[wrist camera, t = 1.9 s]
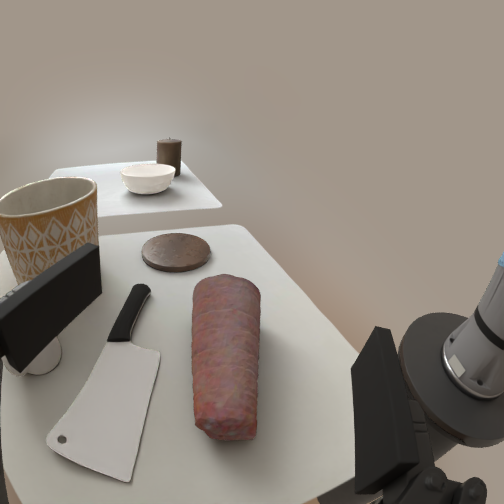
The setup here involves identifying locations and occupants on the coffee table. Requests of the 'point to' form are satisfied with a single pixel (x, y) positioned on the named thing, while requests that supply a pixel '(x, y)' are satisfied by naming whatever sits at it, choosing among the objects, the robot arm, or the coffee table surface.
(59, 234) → the planter
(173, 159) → the pillar candle
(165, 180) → the bowl
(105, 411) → the kitchen cleaver
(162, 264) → the cake board
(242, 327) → the food
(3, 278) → the coffee table surface
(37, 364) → the cup
